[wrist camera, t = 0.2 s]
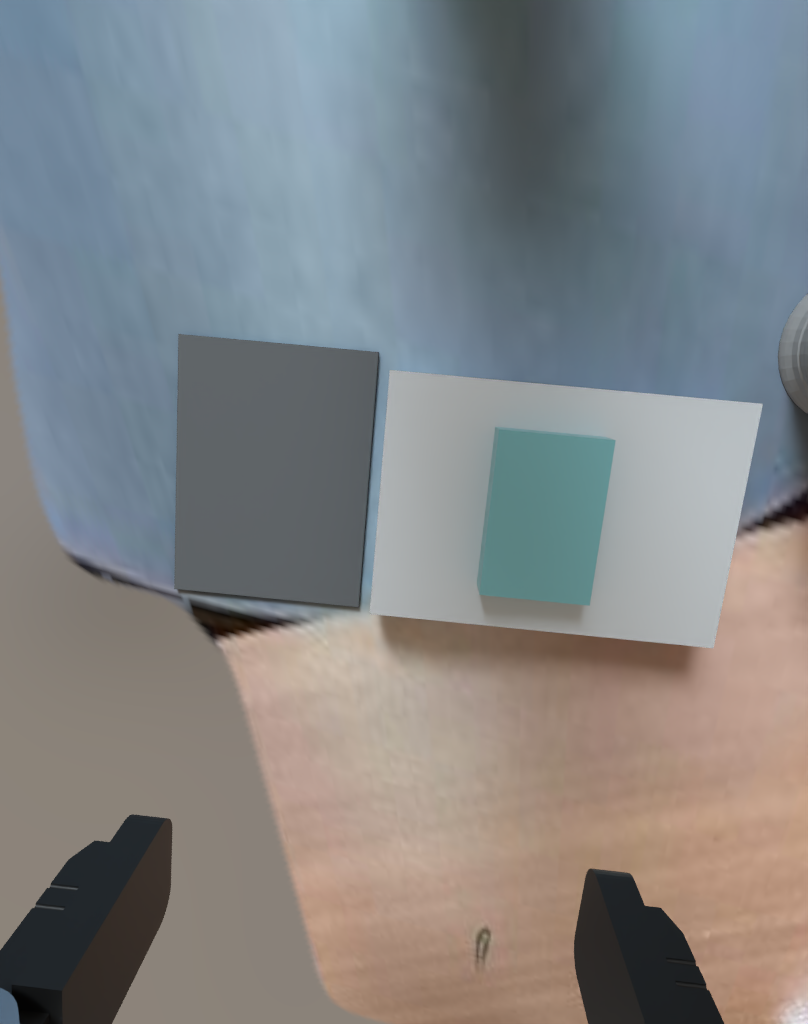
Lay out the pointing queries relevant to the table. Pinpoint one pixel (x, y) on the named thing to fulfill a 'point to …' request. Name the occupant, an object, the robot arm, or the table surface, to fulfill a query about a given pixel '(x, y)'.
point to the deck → (627, 518)
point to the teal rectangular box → (544, 515)
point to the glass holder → (795, 355)
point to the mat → (272, 468)
